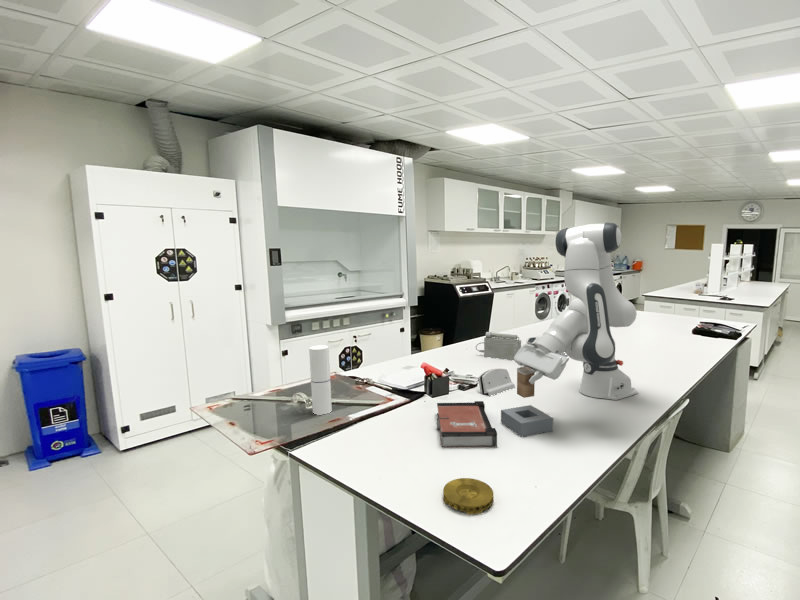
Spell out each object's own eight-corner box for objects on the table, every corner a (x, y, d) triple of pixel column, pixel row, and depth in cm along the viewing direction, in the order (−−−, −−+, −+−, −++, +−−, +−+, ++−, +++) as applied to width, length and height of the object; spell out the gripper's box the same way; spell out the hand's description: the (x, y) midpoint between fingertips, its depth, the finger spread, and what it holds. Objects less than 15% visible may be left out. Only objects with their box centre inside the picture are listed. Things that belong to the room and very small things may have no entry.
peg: (527, 392, 143) (527, 366, 142) (534, 396, 139) (534, 369, 138) (516, 393, 142) (516, 367, 141) (523, 397, 138) (524, 371, 137)
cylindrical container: (315, 416, 155) (312, 350, 152) (310, 410, 161) (306, 346, 158) (334, 413, 158) (331, 347, 155) (328, 406, 164) (325, 344, 161)
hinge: (489, 396, 171) (483, 372, 172) (481, 397, 175) (475, 373, 176) (515, 387, 181) (509, 364, 182) (507, 388, 184) (501, 366, 186)
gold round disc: (476, 522, 94) (476, 513, 94) (433, 501, 102) (433, 493, 102) (502, 497, 103) (502, 489, 103) (461, 480, 111) (461, 473, 111)
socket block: (530, 417, 149) (530, 405, 149) (552, 430, 138) (552, 417, 138) (500, 422, 146) (501, 409, 145) (521, 436, 134) (521, 423, 134)
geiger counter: (522, 333, 223) (477, 330, 236) (518, 336, 218) (473, 332, 231) (522, 359, 225) (477, 354, 238) (518, 362, 219) (473, 356, 233)
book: (435, 414, 155) (435, 401, 154) (483, 414, 154) (483, 401, 154) (439, 448, 129) (439, 433, 128) (496, 448, 128) (497, 432, 128)
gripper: (576, 361, 133) (550, 395, 131) (535, 347, 152) (512, 377, 150) (565, 349, 131) (539, 383, 129) (525, 336, 150) (501, 366, 148)
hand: (524, 380), depth 140 cm, fingers closed on peg, 4 cm apart
